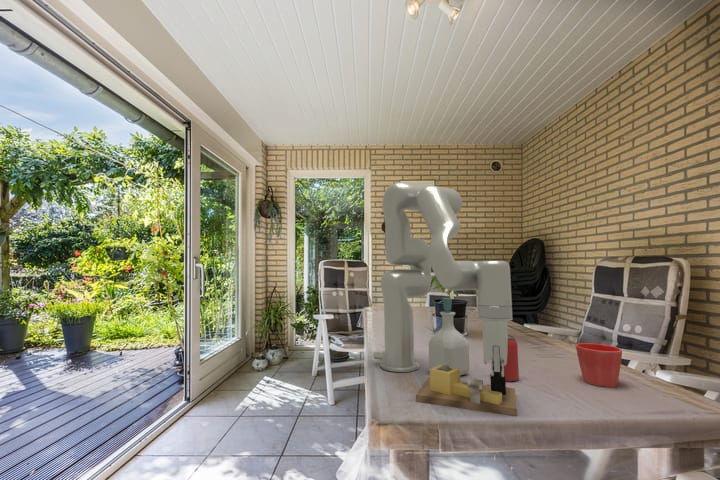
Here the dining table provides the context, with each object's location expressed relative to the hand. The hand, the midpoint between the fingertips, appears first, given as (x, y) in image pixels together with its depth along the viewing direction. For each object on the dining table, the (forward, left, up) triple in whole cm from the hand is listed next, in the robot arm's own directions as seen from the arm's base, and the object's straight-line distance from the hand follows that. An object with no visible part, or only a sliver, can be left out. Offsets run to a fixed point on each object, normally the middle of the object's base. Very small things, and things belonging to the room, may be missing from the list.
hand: (498, 393), depth 79 cm
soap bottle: (-14, +21, -3) cm, 26 cm away
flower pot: (+26, +28, -3) cm, 38 cm away
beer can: (+2, +22, -3) cm, 22 cm away
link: (-7, 0, -1) cm, 7 cm away
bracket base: (-7, +2, -3) cm, 8 cm away
